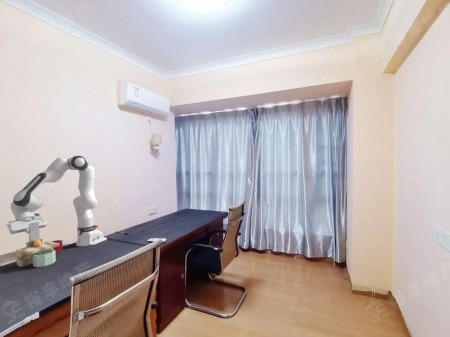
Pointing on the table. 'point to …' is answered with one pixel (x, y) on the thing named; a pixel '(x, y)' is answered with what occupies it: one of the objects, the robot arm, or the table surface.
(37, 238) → the grey upright panel
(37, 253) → the cup
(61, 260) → the table surface
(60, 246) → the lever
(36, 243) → the ball
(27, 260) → the beige slab
